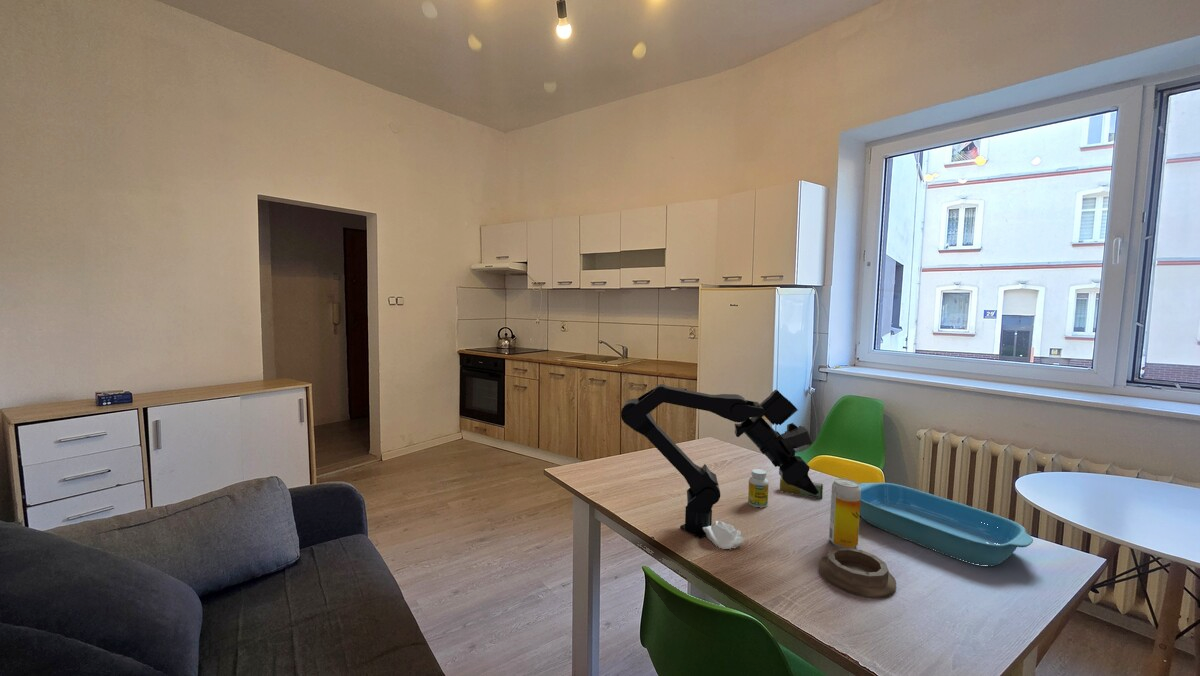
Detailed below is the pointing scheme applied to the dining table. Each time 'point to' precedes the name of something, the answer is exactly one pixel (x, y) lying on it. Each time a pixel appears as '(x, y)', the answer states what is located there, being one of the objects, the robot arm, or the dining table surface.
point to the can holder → (857, 573)
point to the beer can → (845, 513)
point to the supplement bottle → (758, 489)
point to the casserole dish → (941, 523)
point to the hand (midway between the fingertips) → (810, 485)
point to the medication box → (798, 491)
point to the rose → (723, 535)
